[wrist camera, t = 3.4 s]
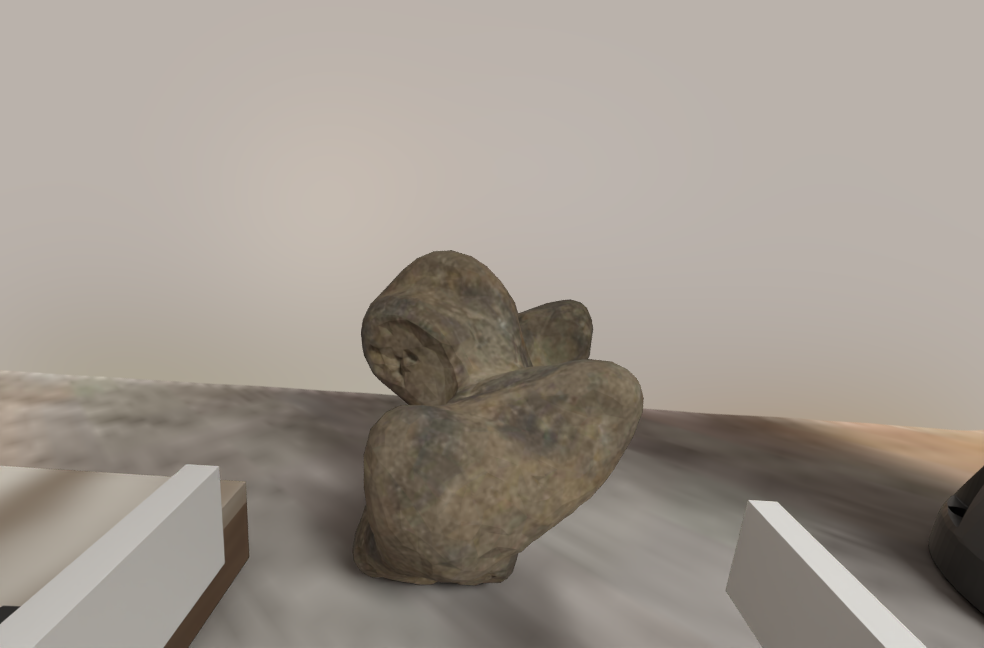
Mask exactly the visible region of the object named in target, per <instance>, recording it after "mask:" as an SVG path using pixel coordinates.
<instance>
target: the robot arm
mask: <svg viewBox="0 0 984 648" xmlns="http://www.w3.org/2000/svg"><path fill="white" fill-rule="evenodd" d="M929 550H930V553H931V556H932V558H933V560H934V562H935V563H936V565H937V566H938V568H939V569H940V571H941V572H942V573H943V575H944V576H945V577H946V578H947V579H948V581H949V582H950V583H951V584H952V585H953V586H954V587H955V588H956V589H957V590H958V591H959V592H960V593H961V594H962V595H963V596H964V597H965V598H966V599H967V600H968V601H969V602H970V603H971V604H973V605H974V606H975V607H976V608H977V609H978V610H979V611H981V612H982V613H983V614H984V466H983V467H982V468H981V469H980V470H979V471H978V472H977V473H976V474H974V475H973V476H972V477H971V478H970V479H969V480H968V481H967V482H966V483H965V484H964V485H963V486H962V487H961V488H960V489H959V490H958V491H957V492H956V493H955V494H954V495H953V496H951V497H950V498H949V499H948V500H947V501H946V502H945V503H944V504H943V506H942V508H941V509H940V511H939V513H938V516H937V519H936V522H935V524H934V527H933V530H932V532H931V535H930V538H929ZM224 564H225V557H224V540H223V523H222V506H221V489H220V472H219V466H207V465H192V464H186V465H185V466H184V467H183V468H182V469H180V470H179V471H178V472H177V473H176V474H175V475H173V476H172V477H171V478H170V479H169V480H168V481H166V482H165V483H164V484H163V485H162V486H161V487H159V488H158V489H157V490H156V491H155V492H154V493H152V494H151V495H150V496H149V497H148V498H147V499H145V500H144V501H143V502H142V503H141V504H140V505H138V506H137V507H136V508H135V509H134V510H133V511H131V512H130V513H129V514H128V515H127V516H126V517H124V518H123V519H122V520H121V521H120V522H119V523H117V524H116V525H115V526H114V527H113V528H112V529H110V530H109V531H108V532H107V533H106V534H105V535H103V536H102V537H101V538H100V539H99V540H98V541H96V542H95V543H94V544H93V545H92V546H91V547H89V548H88V549H87V550H86V551H85V552H84V553H82V554H81V555H80V556H79V557H78V558H77V559H75V560H74V561H73V562H72V563H71V564H70V565H68V566H67V567H66V568H65V569H64V570H63V571H61V572H60V573H59V574H58V575H57V576H56V577H54V578H53V579H52V580H51V581H50V582H49V583H47V584H46V585H45V586H44V587H43V588H42V589H40V590H39V591H38V592H37V593H36V594H35V595H34V596H32V597H31V598H30V599H29V600H28V601H27V602H25V603H24V604H23V605H22V606H2V607H0V648H163V647H164V646H165V645H166V643H167V642H168V640H169V639H170V638H171V636H172V635H173V634H174V632H175V631H176V629H177V628H178V627H179V625H180V624H181V623H182V621H183V620H184V618H185V617H186V616H187V614H188V613H189V612H190V610H191V609H192V607H193V606H194V605H195V603H196V602H197V601H198V599H199V598H200V596H201V595H202V594H203V592H204V591H205V590H206V588H207V587H208V585H209V584H210V583H211V581H212V580H213V579H214V577H215V576H216V575H217V573H218V572H219V570H220V569H221V568H222V566H223V565H224ZM726 592H727V593H728V595H729V596H730V598H731V600H732V601H733V603H734V604H735V606H736V607H737V609H738V610H739V612H740V613H741V615H742V616H743V618H744V620H745V621H746V623H747V624H748V626H749V627H750V629H751V630H752V632H753V633H754V635H755V636H756V638H757V640H758V641H759V643H760V644H761V646H762V647H763V648H927V647H926V646H925V645H924V644H923V643H922V642H921V641H920V640H919V639H917V638H916V637H915V636H914V635H913V634H912V633H911V632H910V631H909V630H908V629H907V628H906V627H905V626H904V625H903V624H902V623H901V622H900V621H899V620H898V619H897V618H896V617H895V616H894V615H893V614H892V613H891V612H890V611H889V610H888V609H887V608H886V607H885V606H884V605H883V604H882V603H881V602H880V601H878V600H877V599H876V598H875V597H874V596H873V595H872V594H871V593H870V592H869V591H868V590H867V589H866V588H865V587H864V586H863V585H862V584H861V583H860V582H859V581H858V580H857V579H856V578H855V577H854V576H853V575H852V574H851V573H850V572H849V571H848V570H847V569H846V568H845V567H844V566H843V565H842V564H841V563H840V562H838V561H837V560H836V559H835V558H834V557H833V556H832V555H831V554H830V553H829V552H828V551H827V550H826V549H825V548H824V547H823V546H822V545H821V544H820V543H819V542H818V541H817V540H816V539H815V538H814V537H813V536H812V535H811V534H810V533H809V532H808V531H807V530H806V529H805V528H804V527H803V526H802V525H801V524H799V523H798V522H797V521H796V520H795V519H794V518H793V517H792V516H791V515H790V514H789V513H788V512H787V511H786V510H785V509H784V508H783V507H782V506H781V505H780V504H779V503H778V502H773V501H757V500H748V502H747V506H746V510H745V514H744V518H743V522H742V526H741V530H740V534H739V538H738V542H737V546H736V550H735V554H734V558H733V562H732V566H731V570H730V574H729V578H728V582H727V586H726Z"/></svg>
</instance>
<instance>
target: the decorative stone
mask: <svg viewBox="0 0 984 648" xmlns="http://www.w3.org/2000/svg"><path fill="white" fill-rule="evenodd" d="M592 333H593V325H592V319H591V317H590V314H589V312H588V310H587V308H586V307H585V306H584V305H583V304H582V303H580V302H577V301H574V300H562V301H556V302H551V303H546V304H544V305H540V306H538V307H535V308H532V309H529V310H527V311H524V312H521V313H518V312H517V309H516V305H515V302H514V300H513V299H512V297H511V296H510V295H509V293H508V291H507V290H506V288H505V287H504V285H503V284H502V283H501V281H500V280H499V279H498V278H497V277H496V276H495V275H494V274H493V272H491V270H490V269H489V268H488V267H487V266H485V265H484V264H482V263H481V262H479V261H478V260H476V259H475V258H473V257H472V256H468V255H465V254H462V253H459V252H455V251H452V250H450V251H435V252H431V253H429V254H427V255H424V256H422V257H419V258H417V259H416V260H415V261H413V262H412V263H411V264H410V265H408V266H407V267H406V268H405V269H403V271H401V273H400V274H399V275H398V276H397V277H396V278H395V279H394V280H393V281H392V282H391V283H390V284H389V286H387V288H386V289H385V290H384V291H383V292H382V293H381V294H380V295H379V296H378V297H377V298H376V299H375V300H374V301H373V302H372V303H371V304H370V306H369V308H368V310H367V312H366V314H365V317H364V319H363V323H362V329H361V337H362V347H363V352H364V356H365V358H366V360H367V362H368V364H369V366H370V368H371V370H372V372H373V374H374V375H375V376H376V377H377V378H378V379H379V380H380V381H381V382H382V383H383V384H385V385H386V386H387V387H388V388H389V389H391V390H392V391H393V392H394V393H395V394H397V395H398V396H399V397H400V398H401V399H403V400H404V401H405V402H406V403H407V404H409V405H400V406H398V407H396V408H394V409H392V410H389V411H387V412H386V413H385V414H384V415H383V416H382V417H381V418H380V419H379V420H378V421H377V423H376V424H375V425H374V426H373V427H372V428H371V429H370V433H369V437H368V441H367V445H366V449H365V452H364V491H365V498H366V506H365V509H364V512H363V515H362V518H361V521H360V523H359V526H358V528H357V531H356V533H355V538H354V545H353V557H354V561H355V563H356V565H357V567H358V568H359V569H360V571H361V572H363V573H365V574H366V575H368V576H370V577H374V578H377V577H383V578H387V579H391V580H396V581H402V582H408V583H415V584H417V585H429V584H434V583H436V582H440V583H447V582H452V583H458V584H460V585H478V584H480V583H501V582H502V581H504V580H505V579H507V578H508V577H509V576H510V574H511V573H512V572H513V569H514V566H515V563H516V560H517V556H518V553H520V552H522V551H523V550H524V549H525V548H526V547H527V546H528V545H530V544H531V543H532V542H533V541H535V540H536V539H538V538H540V537H541V536H542V535H543V534H544V533H545V532H547V531H548V530H550V529H551V528H552V527H554V526H555V525H557V524H558V523H559V522H560V521H562V520H563V519H564V518H566V517H567V516H569V515H570V514H572V513H573V512H574V511H575V510H576V509H577V508H578V507H579V506H580V505H582V504H583V503H584V502H586V501H587V500H588V499H590V498H591V497H592V496H593V495H594V493H595V492H596V491H597V490H598V489H599V488H600V487H601V485H602V484H603V483H604V482H605V481H606V480H607V478H608V477H609V475H610V474H611V473H612V471H613V470H614V468H615V467H616V465H617V463H618V462H619V460H620V458H621V457H622V455H623V453H624V452H625V450H626V448H627V447H628V445H629V443H630V441H631V440H632V438H633V435H634V433H635V430H636V427H637V425H638V422H639V420H640V417H641V415H642V412H643V399H644V398H643V394H642V390H641V386H640V384H639V382H638V380H637V378H636V377H635V376H634V375H633V374H632V373H630V372H629V371H628V370H627V369H625V368H623V367H621V366H619V365H617V364H615V363H613V362H610V361H601V360H592V359H588V358H589V355H590V347H591V340H592Z"/></svg>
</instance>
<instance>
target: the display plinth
mask: <svg viewBox="0 0 984 648" xmlns="http://www.w3.org/2000/svg"><path fill="white" fill-rule="evenodd" d="M170 478H171V477H168V476H152V475H137V474H121V473H106V472H90V471H75V470H59V469H44V468H28V467H13V466H0V607H2V606H22V605H23V604H24V603H25V602H27V601H28V600H29V599H30V598H31V597H32V596H34V595H35V594H36V593H37V592H38V591H39V590H40V589H42V588H43V587H44V586H45V585H46V584H47V583H49V582H50V581H51V580H52V579H53V578H54V577H56V576H57V575H58V574H59V573H60V572H61V571H63V570H64V569H65V568H66V567H67V566H68V565H70V564H71V563H72V562H73V561H74V560H75V559H77V558H78V557H79V556H80V555H81V554H82V553H84V552H85V551H86V550H87V549H88V548H89V547H91V546H92V545H93V544H94V543H95V542H96V541H98V540H99V539H100V538H101V537H102V536H103V535H105V534H106V533H107V532H108V531H109V530H110V529H112V528H113V527H114V526H115V525H116V524H117V523H119V522H120V521H121V520H122V519H123V518H124V517H126V516H127V515H128V514H129V513H130V512H131V511H133V510H134V509H135V508H136V507H137V506H138V505H140V504H141V503H142V502H143V501H144V500H145V499H147V498H148V497H149V496H150V495H151V494H152V493H154V492H155V491H156V490H157V489H158V488H159V487H161V486H162V485H163V484H164V483H165V482H166V481H168V480H169V479H170ZM220 489H221V506H222V523H223V540H224V557H225V564H224V565H223V566H222V568H221V569H220V570H219V572H218V573H217V575H216V576H215V577H214V579H213V580H212V581H211V583H210V584H209V585H208V587H207V588H206V590H205V591H204V592H203V594H202V595H201V596H200V598H199V599H198V601H197V602H196V603H195V605H194V606H193V607H192V609H191V610H190V612H189V613H188V614H187V616H186V617H185V618H184V620H183V621H182V623H181V624H180V625H179V627H178V628H177V629H176V631H175V632H174V634H173V635H172V636H171V638H170V639H169V640H168V642H167V643H166V645H165V646H164V647H163V648H188V647H189V645H190V644H191V642H192V641H193V639H194V638H195V636H196V635H197V633H198V632H199V630H200V629H201V628H202V626H203V625H204V623H205V622H206V620H207V619H208V617H209V616H210V614H211V613H212V611H213V610H214V608H215V607H216V605H217V604H218V602H219V601H220V599H221V598H222V596H223V595H224V593H225V592H226V591H227V589H228V588H229V586H230V585H231V583H232V582H233V580H234V579H235V577H236V576H237V574H238V573H239V571H240V570H241V568H242V567H243V565H244V564H245V562H246V561H247V559H248V558H249V542H248V520H247V497H246V482H245V481H230V480H220Z"/></svg>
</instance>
